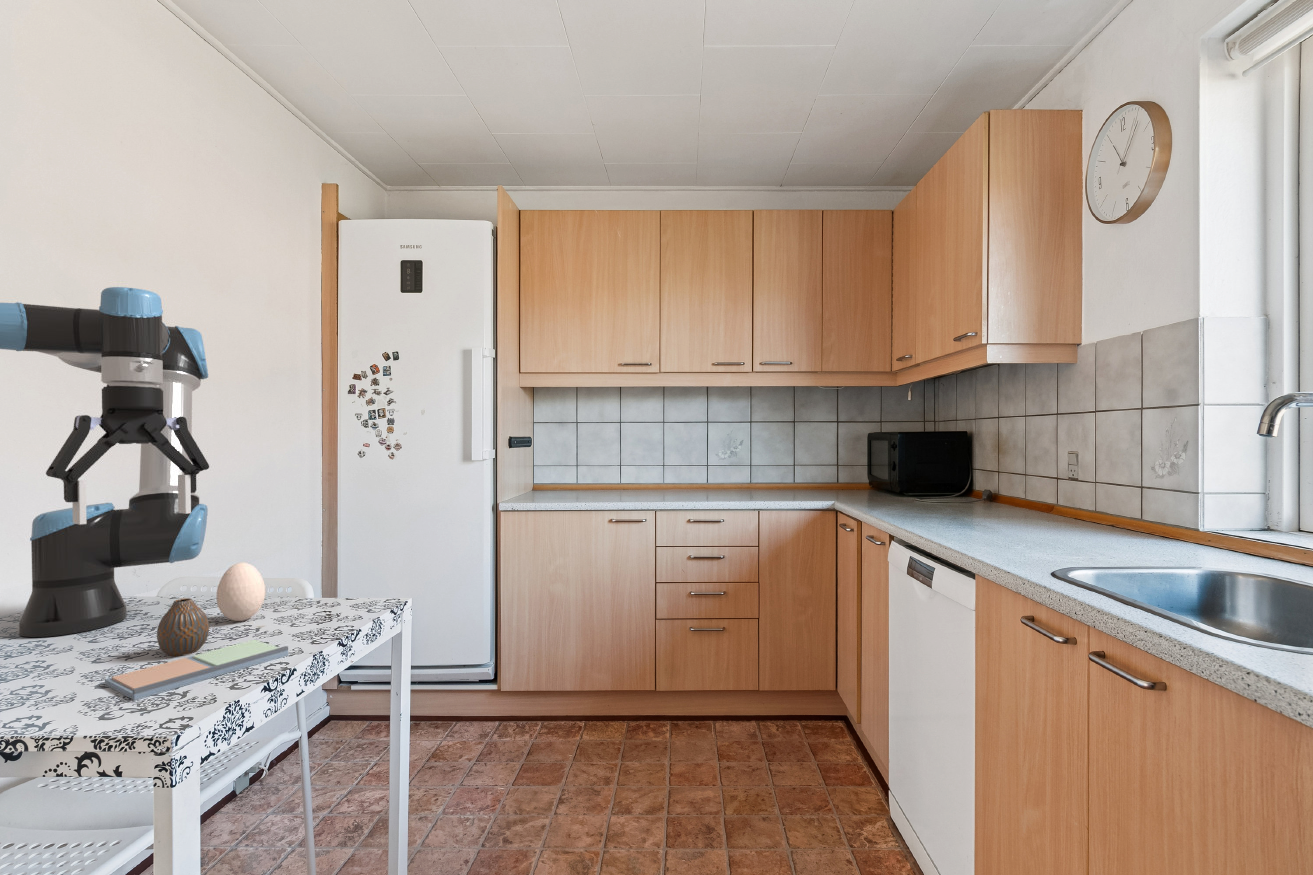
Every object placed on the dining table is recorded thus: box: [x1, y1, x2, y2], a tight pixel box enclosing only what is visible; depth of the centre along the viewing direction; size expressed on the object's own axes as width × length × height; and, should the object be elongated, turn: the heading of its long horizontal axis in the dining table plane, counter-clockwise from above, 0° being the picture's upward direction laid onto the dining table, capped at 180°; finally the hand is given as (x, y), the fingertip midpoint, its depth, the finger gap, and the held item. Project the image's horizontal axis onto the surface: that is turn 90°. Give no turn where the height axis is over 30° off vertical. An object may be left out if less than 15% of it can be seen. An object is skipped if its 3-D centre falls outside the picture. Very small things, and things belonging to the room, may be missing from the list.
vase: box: [156, 597, 210, 657], centre depth 102 cm, size 7×7×9 cm
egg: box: [215, 562, 266, 622], centre depth 120 cm, size 8×8×11 cm
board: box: [104, 639, 289, 701], centre depth 94 cm, size 11×20×1 cm, turn 148°
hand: (135, 518), depth 98 cm, fingers open, 13 cm apart
